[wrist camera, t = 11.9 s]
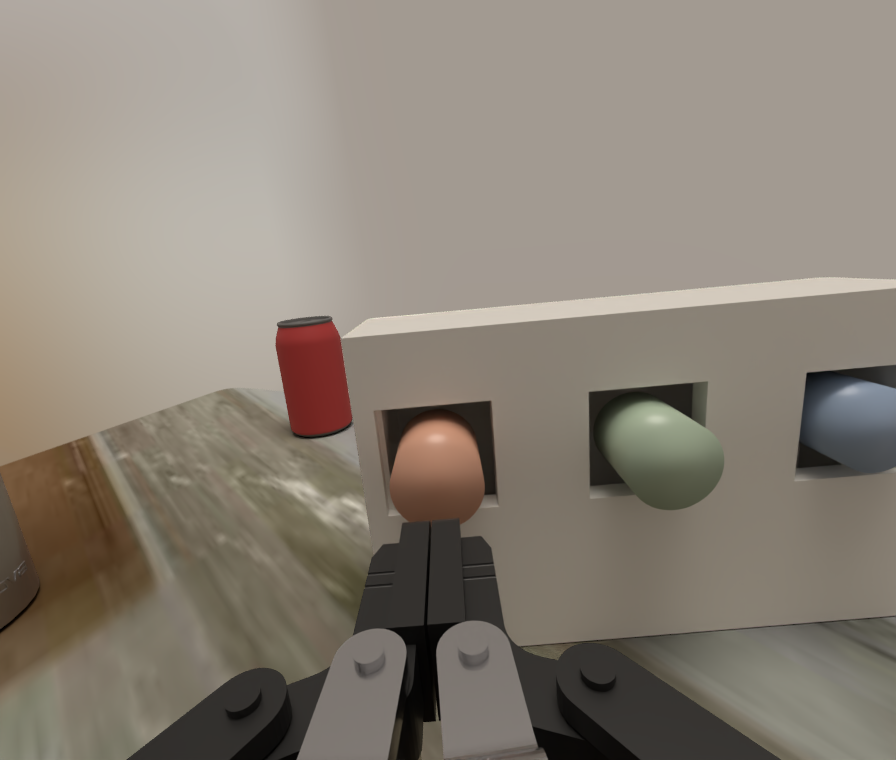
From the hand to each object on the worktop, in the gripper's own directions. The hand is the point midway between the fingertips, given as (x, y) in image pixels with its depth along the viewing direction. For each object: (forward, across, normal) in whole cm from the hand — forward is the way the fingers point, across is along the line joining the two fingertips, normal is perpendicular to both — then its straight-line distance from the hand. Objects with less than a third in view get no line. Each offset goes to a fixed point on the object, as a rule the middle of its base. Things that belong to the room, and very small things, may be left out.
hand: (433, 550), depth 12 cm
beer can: (+37, +14, +9) cm, 40 cm away
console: (+9, -8, +9) cm, 15 cm away
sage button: (+5, -8, +2) cm, 10 cm away
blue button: (+7, -16, +2) cm, 17 cm away
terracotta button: (+5, 0, +2) cm, 5 cm away
